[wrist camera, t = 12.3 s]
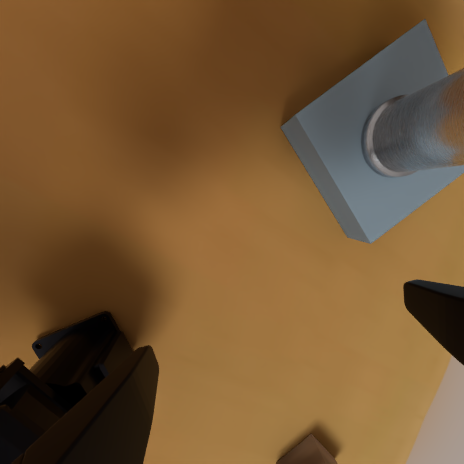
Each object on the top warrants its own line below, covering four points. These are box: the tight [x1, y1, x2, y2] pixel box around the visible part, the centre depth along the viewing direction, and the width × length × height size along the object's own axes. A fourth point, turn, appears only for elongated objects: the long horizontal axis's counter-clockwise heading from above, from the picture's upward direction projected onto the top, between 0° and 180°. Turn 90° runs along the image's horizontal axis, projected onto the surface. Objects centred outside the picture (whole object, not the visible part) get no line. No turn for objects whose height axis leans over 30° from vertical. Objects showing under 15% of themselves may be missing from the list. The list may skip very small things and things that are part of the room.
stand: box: [281, 19, 464, 244], centre depth 19 cm, size 12×12×3 cm
